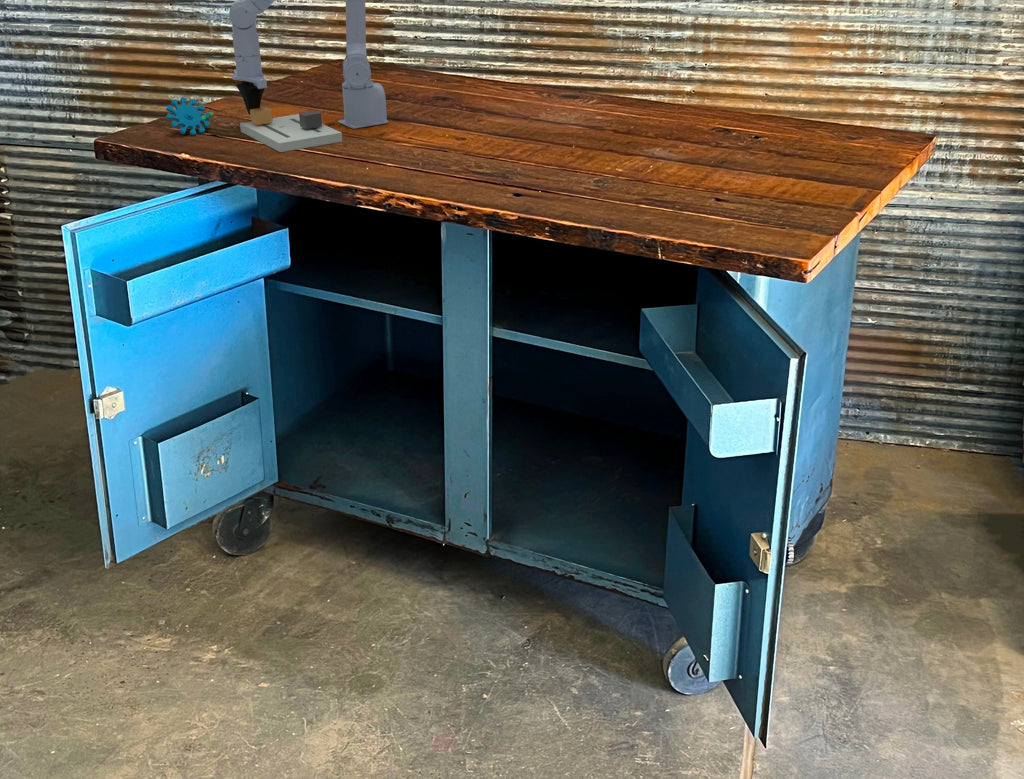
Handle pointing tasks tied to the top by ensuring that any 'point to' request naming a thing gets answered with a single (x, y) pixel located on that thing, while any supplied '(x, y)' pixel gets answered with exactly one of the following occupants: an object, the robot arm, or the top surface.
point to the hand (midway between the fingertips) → (253, 114)
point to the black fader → (310, 119)
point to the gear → (188, 116)
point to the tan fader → (261, 116)
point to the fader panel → (290, 134)
